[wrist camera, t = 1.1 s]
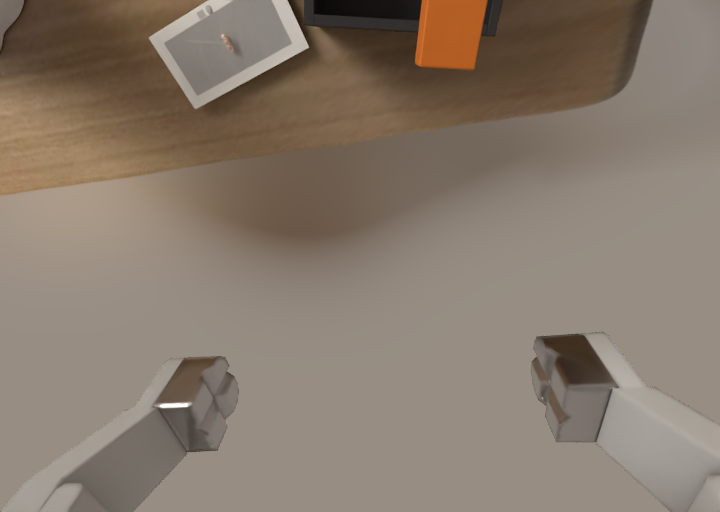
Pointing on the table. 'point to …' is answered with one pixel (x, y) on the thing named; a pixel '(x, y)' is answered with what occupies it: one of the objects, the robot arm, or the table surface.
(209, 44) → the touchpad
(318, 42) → the table surface
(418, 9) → the basket
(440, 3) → the orange croquet mallet
